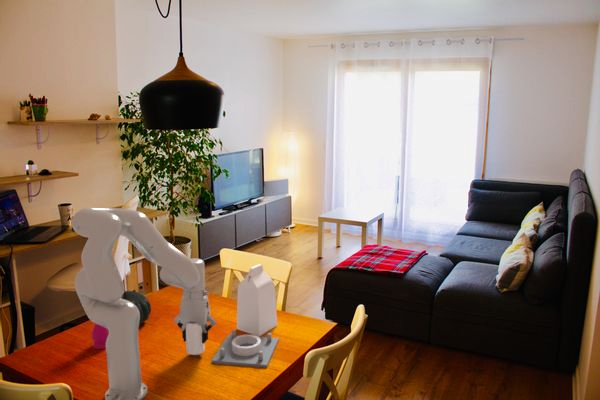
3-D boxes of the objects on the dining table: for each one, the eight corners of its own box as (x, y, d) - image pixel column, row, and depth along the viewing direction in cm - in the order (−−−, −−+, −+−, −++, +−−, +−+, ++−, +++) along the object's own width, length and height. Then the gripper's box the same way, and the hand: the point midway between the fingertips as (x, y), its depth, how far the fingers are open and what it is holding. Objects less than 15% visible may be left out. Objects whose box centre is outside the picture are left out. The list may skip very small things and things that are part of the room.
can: (182, 352, 181) (181, 321, 179) (194, 345, 186) (193, 315, 184) (196, 357, 178) (196, 325, 176) (208, 349, 183) (207, 318, 181)
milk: (259, 336, 197) (257, 273, 192) (236, 329, 203) (234, 267, 198) (277, 325, 207) (276, 264, 201) (255, 318, 213) (254, 259, 208)
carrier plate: (267, 367, 174) (266, 357, 173) (211, 362, 177) (211, 352, 177) (278, 340, 193) (278, 330, 193) (228, 336, 197) (228, 327, 196)
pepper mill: (106, 350, 186) (101, 300, 182) (88, 348, 188) (83, 298, 184) (117, 341, 193) (112, 292, 189) (100, 339, 195) (95, 291, 191)
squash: (163, 305, 213) (139, 278, 213) (144, 321, 199) (119, 293, 199) (142, 323, 218) (120, 297, 218) (122, 340, 204) (98, 312, 204)
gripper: (221, 291, 181) (221, 338, 184) (175, 288, 183) (176, 334, 186) (214, 299, 173) (214, 347, 176) (166, 295, 176) (168, 343, 179)
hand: (195, 340), depth 181 cm, fingers closed on can, 6 cm apart
